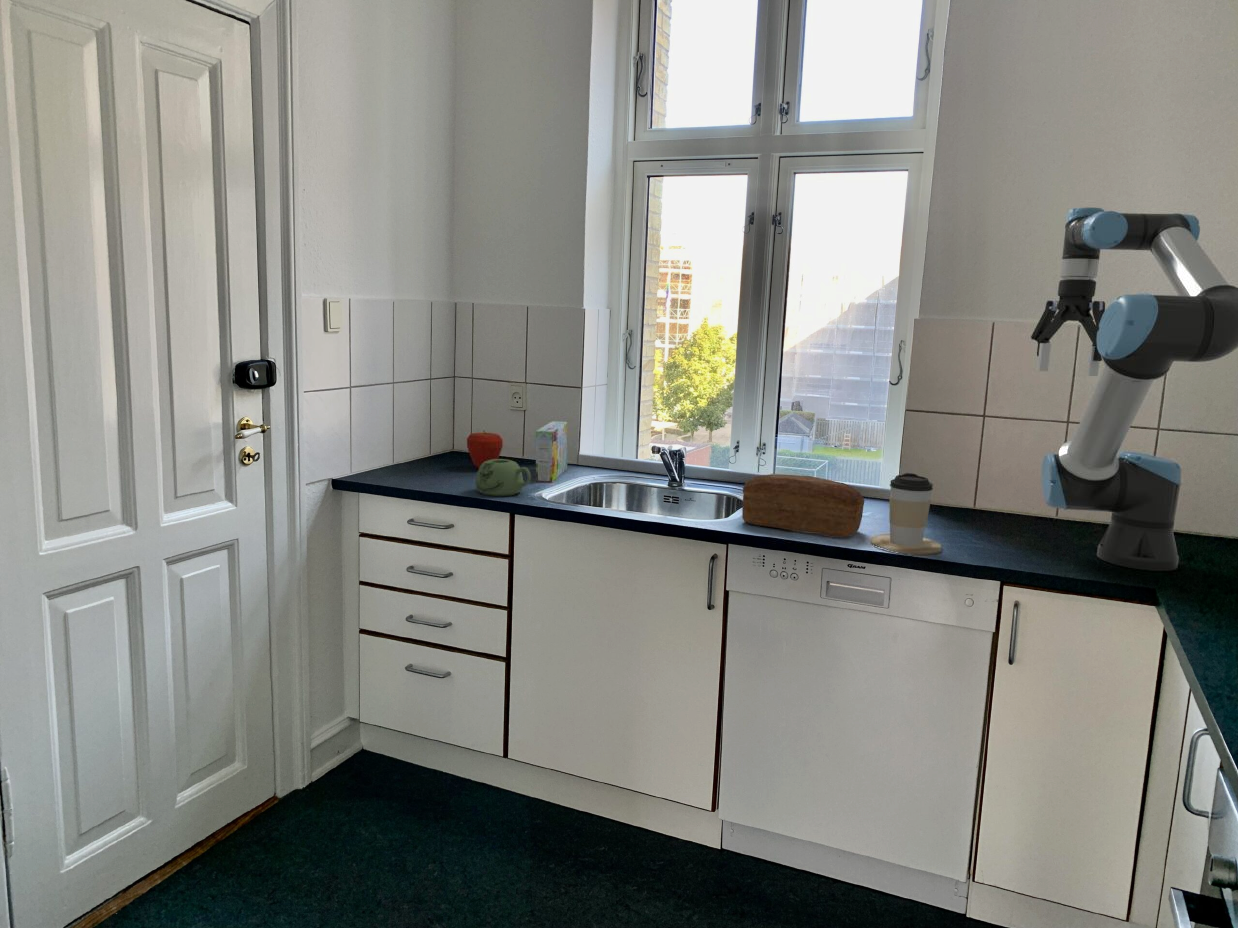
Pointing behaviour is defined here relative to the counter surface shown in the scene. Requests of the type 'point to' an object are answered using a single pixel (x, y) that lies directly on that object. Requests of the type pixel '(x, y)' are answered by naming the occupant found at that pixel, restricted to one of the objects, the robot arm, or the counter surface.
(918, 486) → the coffee cup
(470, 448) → the apple
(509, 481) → the mug
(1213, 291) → the robot arm
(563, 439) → the snack box
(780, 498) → the bread
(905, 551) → the coaster
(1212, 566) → the counter surface
